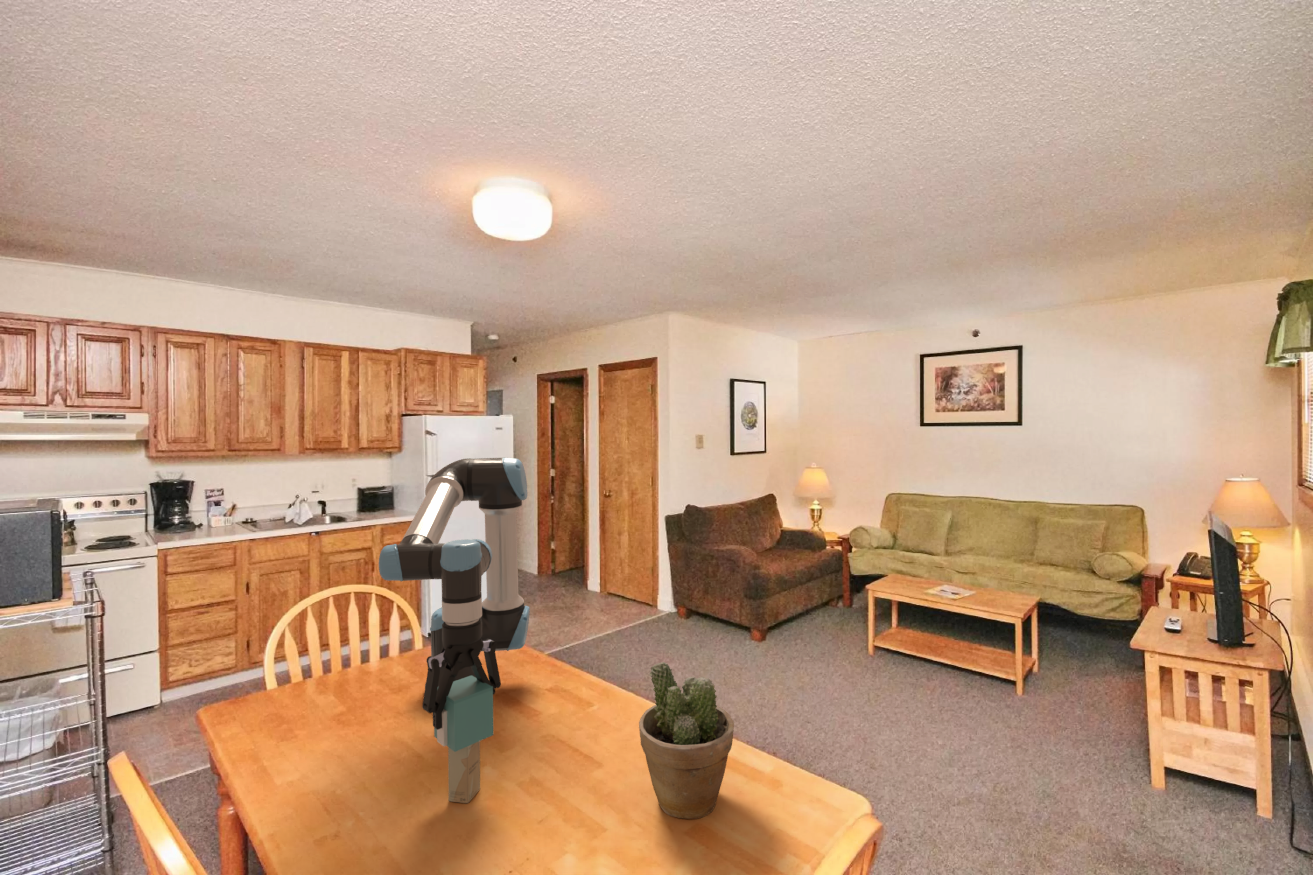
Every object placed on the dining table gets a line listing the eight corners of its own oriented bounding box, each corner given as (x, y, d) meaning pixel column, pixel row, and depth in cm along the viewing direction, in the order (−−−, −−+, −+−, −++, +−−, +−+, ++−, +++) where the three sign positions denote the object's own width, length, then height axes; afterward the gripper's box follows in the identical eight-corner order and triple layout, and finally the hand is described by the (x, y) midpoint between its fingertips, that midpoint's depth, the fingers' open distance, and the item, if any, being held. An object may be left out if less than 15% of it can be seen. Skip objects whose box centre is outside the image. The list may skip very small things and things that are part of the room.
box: (467, 804, 112) (466, 747, 112) (447, 801, 113) (446, 745, 113) (481, 787, 118) (480, 733, 117) (461, 785, 118) (461, 731, 118)
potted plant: (743, 782, 118) (742, 660, 118) (723, 843, 101) (721, 700, 101) (657, 766, 124) (656, 650, 124) (625, 821, 107) (623, 686, 107)
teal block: (472, 721, 121) (471, 675, 121) (493, 734, 115) (492, 686, 115) (434, 736, 115) (433, 688, 115) (454, 751, 109) (454, 700, 109)
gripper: (498, 604, 125) (500, 709, 125) (400, 629, 110) (402, 748, 110) (518, 611, 120) (519, 720, 120) (418, 638, 105) (420, 763, 105)
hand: (463, 734), depth 115 cm, fingers closed on teal block, 8 cm apart
